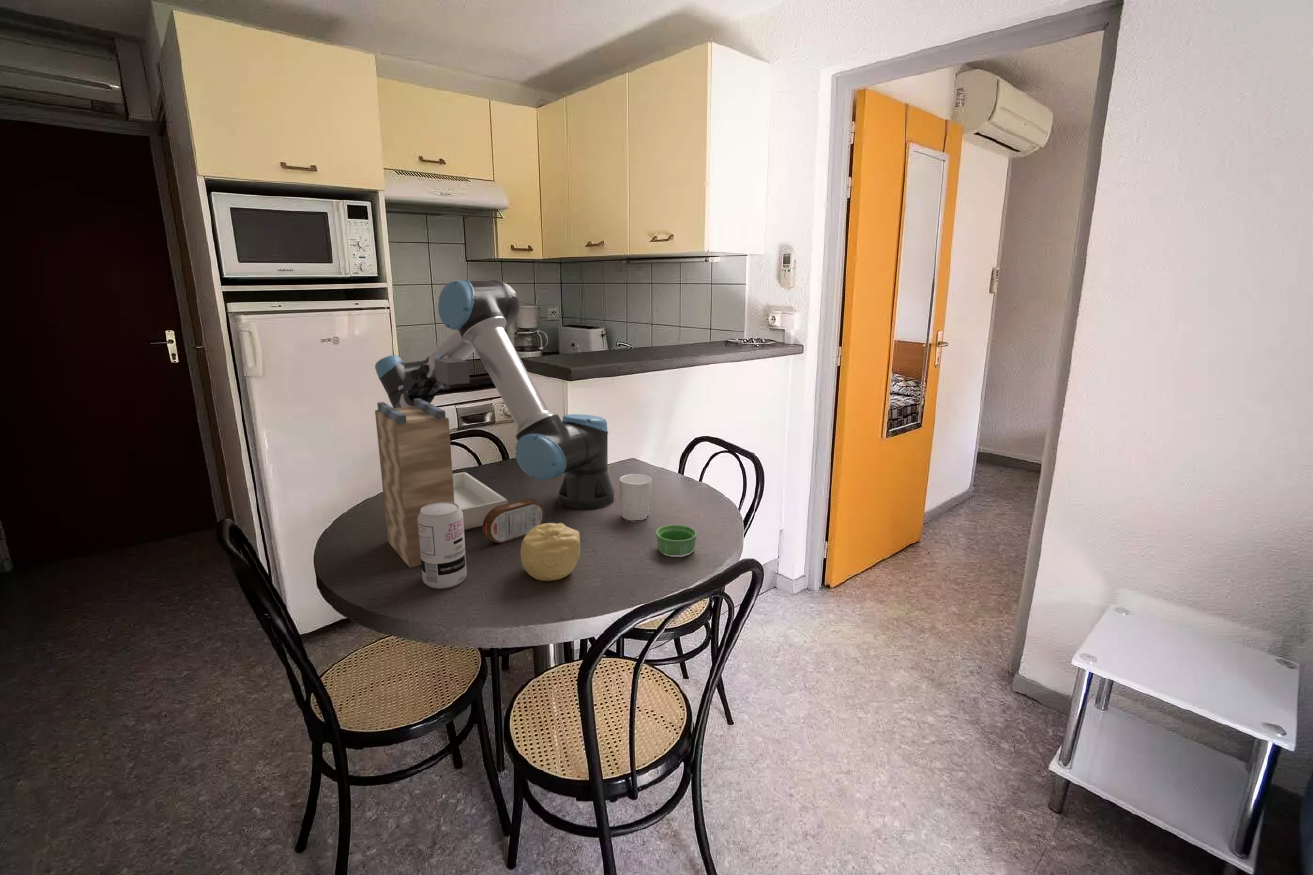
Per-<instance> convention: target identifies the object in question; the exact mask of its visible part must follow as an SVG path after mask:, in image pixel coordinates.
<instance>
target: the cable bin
mask: <svg viewBox="0 0 1313 875" xmlns="http://www.w3.org/2000/svg"><path fill="white" fill-rule="evenodd" d="M452 474H453V488H454V503H456V504H458V505H459V508H460V509H461V511H462V512H463V523H464V531H466V530H468V529H474V528H477V527H483V521H484V518H485V517H486V515H487V514H488V512H489V511H490V510H491V509H493V508H494V507H496V506H499V505H503V504H507V503H509V500H508V499H507V498H506V497H504V496H502V495H501V494H499V493H498V492H496V491H494V490H493V489H492V488H490V487H488V485H486V484H484V483H483V482H481V481H480V480H478V479H477V478H475V477H474V476H472V475H471V474H469V473H467V472H466V471H463V472H458V473H452Z"/></svg>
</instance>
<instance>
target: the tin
mask: <svg viewBox="0 0 1313 875" xmlns="http://www.w3.org/2000/svg"><path fill="white" fill-rule="evenodd" d="M544 520H545V509H544V506H543V505H542V504H541V503H540V502H539V501H537V500H536V499H534V498H529V497H528V498H523V499H520V500H515V501H513V502H508V503H507V504H503V505H499V506H496V507H494V508H493V509H491V510H490V511H489V512H488V514H487V515H486V517H485V518H484V521H483V525H482V531H483V534H484V536H485V537H486V538H487V539H489V540H491V541H492V542H494V543H497V544H504V543H507V542H508V543H509V542H511V541H514V540H516V539H517V540H518V539H520V538H523V537H525V536H526V534H527V533H528V532H529V531H530V530H531V529H533V528H534V527H536V526H538V525H541V524H544Z"/></svg>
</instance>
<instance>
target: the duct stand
mask: <svg viewBox="0 0 1313 875" xmlns="http://www.w3.org/2000/svg"><path fill="white" fill-rule="evenodd" d="M414 405H415V406H411V407H401V408H393V406H392V405H389V404H388V403H385V402H384V401H383V402H382V401H380V402H377V409H375V410H374V415H375V423H376V424H375V425H376V426H375V427H376V435H377V444H378V454H379V456H378V457H379V464H380V466H379V467H380V472H381V473H380V474H381V482H382V495H383V503H384V504H383V505H384V514H385V523H386V534H387V541H388V543H389V544H390V546H391V547H392V548H393V549H394V551H395V552H396V553H397V554H398V555H399V556H400V557H401V559H402V560H403V561H404V563H406V565H407V566H408V568H410V569H411V568H415V567H419V566H421V555H420V544H419V532H418V521H417V519H418V516H419V513H420V510H421V508H422V507H424V506H426V505H428V504H432V503H438V502H452V503H454V488H453V474H454V473H453V463H452V448H451V447H452V446H451V435H450V434H451V433H450V419H449V417H447V416H446V410H444V409H442V408H441V407H437V406H436V405H434V404H432V403H428V402H426V401H424V400H422V399H420V398H418V399H414Z"/></svg>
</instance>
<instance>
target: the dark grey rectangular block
mask: <svg viewBox="0 0 1313 875" xmlns="http://www.w3.org/2000/svg"><path fill="white" fill-rule="evenodd" d="M426 364H427V363H426ZM426 364H423V366H424V365H426ZM469 367H470V366H469V361H468V360H466V359H465V360H461V359H458V358H446V359H435V370H434V372H433V374H432V375H431V376H432V377H435V378H436V380H437V381H439V382H442V383H445V384H447V385H449V386H452V385H453V386H454V385H462V384H470V383H471V381H470V379H471V378H470V368H469Z"/></svg>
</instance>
